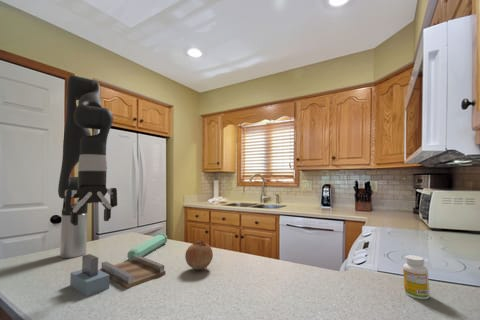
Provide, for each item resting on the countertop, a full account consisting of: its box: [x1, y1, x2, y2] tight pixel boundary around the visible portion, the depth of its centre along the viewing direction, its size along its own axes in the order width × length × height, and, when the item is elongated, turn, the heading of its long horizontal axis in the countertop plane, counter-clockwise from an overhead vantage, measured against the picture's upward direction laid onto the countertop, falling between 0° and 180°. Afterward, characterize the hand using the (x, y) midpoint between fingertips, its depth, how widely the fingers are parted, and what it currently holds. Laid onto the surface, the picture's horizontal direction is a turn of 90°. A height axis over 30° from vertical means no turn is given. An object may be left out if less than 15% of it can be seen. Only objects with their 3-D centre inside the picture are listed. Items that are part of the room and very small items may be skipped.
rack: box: [99, 254, 167, 289], centre depth 82 cm, size 20×13×3 cm, turn 50°
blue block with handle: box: [69, 253, 111, 297], centre depth 72 cm, size 12×6×9 cm, turn 53°
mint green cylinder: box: [127, 232, 168, 261], centre depth 106 cm, size 6×6×25 cm
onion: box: [184, 239, 214, 271], centre depth 84 cm, size 10×9×10 cm
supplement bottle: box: [402, 254, 431, 300], centre depth 64 cm, size 5×5×10 cm
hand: (91, 223), depth 73 cm, fingers open, 8 cm apart
